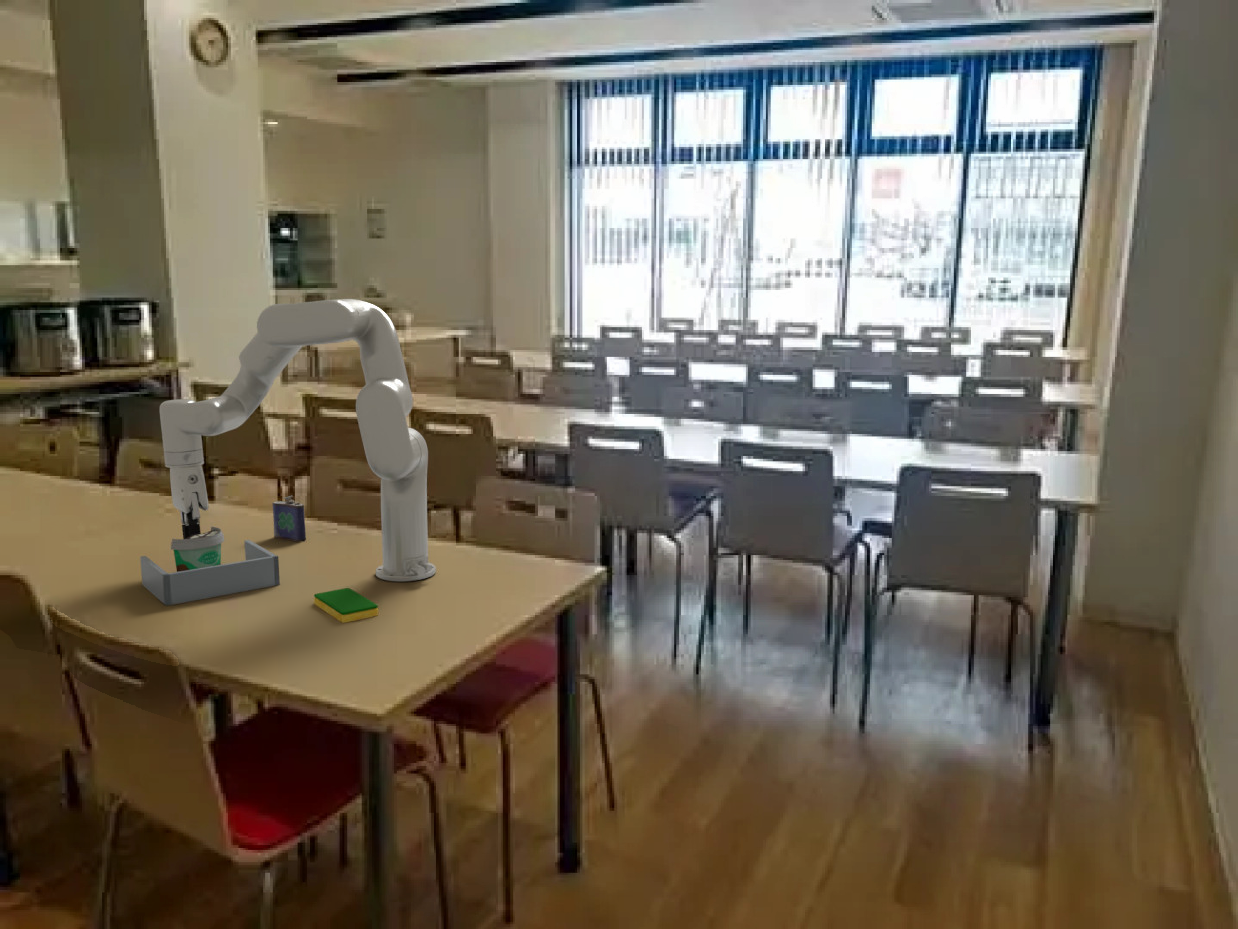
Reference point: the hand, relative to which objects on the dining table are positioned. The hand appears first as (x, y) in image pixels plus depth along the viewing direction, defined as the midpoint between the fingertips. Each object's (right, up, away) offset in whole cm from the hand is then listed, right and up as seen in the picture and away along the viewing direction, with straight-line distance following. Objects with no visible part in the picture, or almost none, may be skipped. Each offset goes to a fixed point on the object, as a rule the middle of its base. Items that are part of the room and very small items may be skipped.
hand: (192, 542), depth 207 cm
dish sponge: (+40, -12, -23) cm, 47 cm away
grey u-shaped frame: (+8, -8, -9) cm, 14 cm away
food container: (+6, -8, -6) cm, 11 cm away
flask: (+12, -2, +28) cm, 30 cm away
